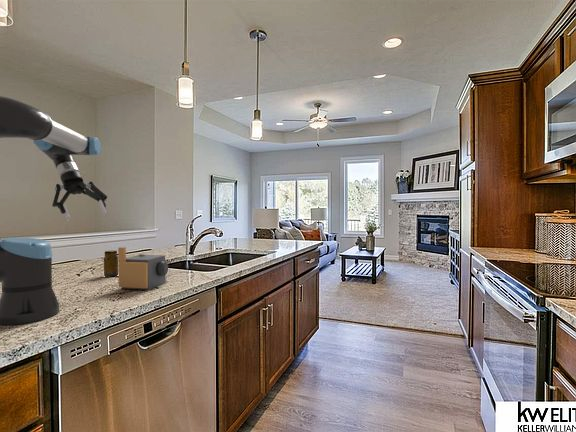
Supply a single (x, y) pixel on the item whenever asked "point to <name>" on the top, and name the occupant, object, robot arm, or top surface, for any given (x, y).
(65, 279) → the top surface
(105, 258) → the condiment
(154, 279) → the housing
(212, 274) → the top surface
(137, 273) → the door
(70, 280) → the top surface
